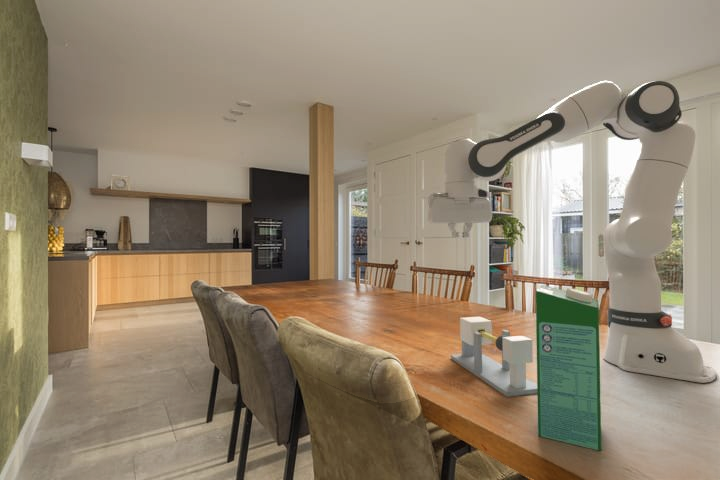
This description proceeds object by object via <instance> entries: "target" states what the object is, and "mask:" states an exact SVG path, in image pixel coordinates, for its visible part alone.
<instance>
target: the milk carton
mask: <svg viewBox="0 0 720 480" xmlns="http://www.w3.org/2000/svg"><path fill="white" fill-rule="evenodd" d="M593 297H594V294H592V293H590V292H588V291H584V290H580V289H578V288H577V289H576V288H571V287H567V289H566V290H563V289H558V288H556V287H551V286H549V285H545V284H541V285H540V286H539V287H538V288H537V289H536V291H535V316H536V317H535V323H536V324H535V326H536V337H535V339H536V382H537V383H536V384H537V393H536V394H537V397H536V398H537V435H538V437H542V438H546V439H550V440H554V441H557V442H560V443H561V442H562V443H566V444H569V445H575V446H578V447H583V448H586V449H590V450H595V451H599V452H601V451H602V425H601V423H602V420H601V419H602V418H601V417H602V414H601V413H602V410H601V404H602V403H601V360H600V359H601V358H600V357H601V356H600V348H601V347H600V307H599V301H598V299H596V298H593Z"/></svg>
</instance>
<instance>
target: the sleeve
mask: <svg viewBox="0 0 720 480" xmlns="http://www.w3.org/2000/svg"><path fill="white" fill-rule="evenodd" d="M492 323H493V321H492V320H490V319H487V318H485V317H482V316H481V315H480V316H467V317H466V316H465V317H459V340H461V342H462V341H464V342H466V343H468V344H469V345H471V346H473V345H474V332H478V330H481V331H483V332H486V333H488V334H490V335H492V336H493V324H492ZM492 344H493V341H492V340H490V339H487V338H485V337H483V336H482V345H483V346H484V345H492Z"/></svg>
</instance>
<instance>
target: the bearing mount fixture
mask: <svg viewBox="0 0 720 480" xmlns="http://www.w3.org/2000/svg"><path fill="white" fill-rule="evenodd" d="M482 336H483V337H485V338H487V339H490V340H492V342H494V343H495V347H496V348H497V349H498V350H499V351H501V363H500V362H498V361H496V360H494V359H493V358H491V357H489V356H487V355H485V354H484V353H483V346H482ZM533 355H534V354H533V339H532V338H530V337H526V336H525V335H512V336H511V331H509V330H507V329H501V335H499V336H498V337H496V336H494V335H493V334H492V335H490V334H488V333H486V332H483V331H481V330H478V332H474V345H473V346H471V345H469V344H468V343H466V342H464V341H462V340H461V353H459V354H458V353H457V354H451V355H450V359H451V360H452V361H453V362H455V363H457V365H458V364H459V365H460V366H461V367H462V368H465V370H467V371H469V372H470V374H471V373H472V374H473V375H474V376H475V377H477V378H479V380H481V381H483V382H484V383H486V384H488V386H489V387H492V388H493V389H494V390H497V391H498V392H499V393H500V394H502V395H503V396H504V397H507V398H509V397H518V396H523V395H524V396H525V395H526V396H527V395H534V394H537V383H536V382H534V381H532V380H530V379H528V378H527V364H530V363H533V362H534V361H533V360H534V359H533V357H534V356H533Z"/></svg>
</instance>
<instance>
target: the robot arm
mask: <svg viewBox="0 0 720 480" xmlns="http://www.w3.org/2000/svg"><path fill="white" fill-rule="evenodd" d="M682 114H683V113H682V109H681V107H680V96H679V93H678V90H677V88H676V87H675V86H674V85H673V84H671V83H670V82H667V81H663V80H654V81H653V80H652V81H651V82H646V83H643V84H642V85H640V86H638V87H636V88H635V89H633V91H632V92H630V94H629V93H625V92H623V91H622V90H621V88H619V86H618V85H617V83H614V82H613V81H608V80H602V81H599V82H597V83H594V84H592V85H588V86H585V87H584V88H583V89H580V90H578V91H576V92H574V93H572V94H570V95H569V96H567V97H565V98H564V99H562V100H560V101H558V102H557V103H556V104H554V105H553V106H551V107H550V108H549V109H548V110H546V111H544V112H543V113H542V114H540V115H539V116H538V117H536V118H534V119H533V120H531V121H529V122H527V123H525V124H523V125H521V126H520V127H518V128H516V129H514V130H512V131H510V132H508V133H506V134H504V135H502V136H499V137H495V138H489V139H483V140H481V141H479V142H477V143H476V142H475V141H472V140H471V138H460V139H457V140H454V141H452V142H450V143H449V144H448V145H447V147H446V149H445V152H444V153H445V154H444V174H445V177H446V178H445V182H444V192H440V193H439V192H433V193H432V194H430V195H429V197H428V201H427V202H428V204H427V205H428V206H429V207H428V212H427V213H428V214H427V220H428V222H429V223H430V224H448V225H447V227H448V229H449V231H450V232H451V238H452V239H453V238H454V239H457V238H460V236H459V235H460V234H459V233H460V231H457V230H456V228H455V227H456V224H464V227H466V228H465V229H464V231H461V234H462V235H461V236H462V238H465V239H466V238H467V239H469V238H470V232H471V230H472V228H473V224H475V223H478V224H481V223H482V224H484V223H485V224H487V223H490V222H491V221H492V219H493V207H492V202H491V201H490V199H489V198H490V196H491V195H490V194H491V193H490V191H488V190H486V189H484V188H481V187H478V186H476V185H475V181H476V180H478V181H484V182H493V181H495V180H498V179H500V178H501V177H503V175H504V173H505V172H506V169H507V164H508V163H509V162H510V160H512V159H513V158H514V157H516V156H518V155H520V154H522V153H524V152H525V151H527V150H530V149H531V148H533V147H535V146H537V145H538V144H539V145H540V144H541V143H545V142H555V143H564V142H568V141H570V140H572V139H575V138H578V137H580V136H581V135H583V134H586V133H587V132H588V131H591V130H592V129H594V128H595V127H598V126H600V125H603V127H604V128H606V129H607V130H609V131H610V132H611V133H612V134H613V135H614V136H615V137H617V138H618V139H621V140H624V141H633V140H637V139H638V140H639V145H640V147H639V152H638V154H637V157H636V158H635V162H634V164H633V167H632V169H631V173H630V175H629V178H628V180H627V183H626V185H625V188H624V199H623V204H622V209H621V213H620V215H619V216H620V217H619V218H617V219H615V220H613V221H611V222H610V223H608V224H607V226H606V227H605V229H604V231H603V233H602V239H603V244H604V254H605V261H606V266H607V274H608V285H609V290H608V291H609V306H608V307H607V312H606V313H607V314H606V315H607V327H608V336H607V343H606V348H605V351H604V354H603V356H602V357H603V359H604V360H605V361H606V362H608V363H610V364H612V365H615V366H617V367H619V368H620V369H621V370H623V371H627V372H630V373H631V372H632V373H639V374H644V375H651V376H658V377H661V378H662V377H663V378H669V379H675V380H682V381H687V382H688V381H689V382H695V383H703V384H705V383H710V382H713V381H714V380H716V377H717V372H716V370H715V368H714V367H712V366H710V365H708V364H706V363H704V359H703V354H702V352H701V349H700V348H699V347H698V345H697V344H696V343H695V342H694V341H692V340H690V339H688V338H687V337H686V336H684V335H683V334H681V333H680V332H679V331H677V330H676V329H675V328H673V327H672V326H673V325H672V324H673V316H672V314H670V313H669V314H668V313H667V312H665V311H662V282H661V278H660V276H659V274H658V273H659V272H658V271H657V267H656V263H655V257H656V256H658V255H660V254H661V253H664V252H665V251H666V250H667V249H668V248H669V247H670V245H671V244H672V241H673V232H672V226H673V220H674V214H675V213H674V212H675V206H676V202H677V198H678V196H679V194H680V193H679V192H680V189H681V187H682V186H683V182H684V179H685V177H686V174H687V172H688V170H689V166H690V163H691V161H692V157H693V152H694V148H695V143H696V131H695V129H694V128H693V127H692V126H691V125H689V124H687V123H683V122H679V121H680V119H681V118H682Z"/></svg>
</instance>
